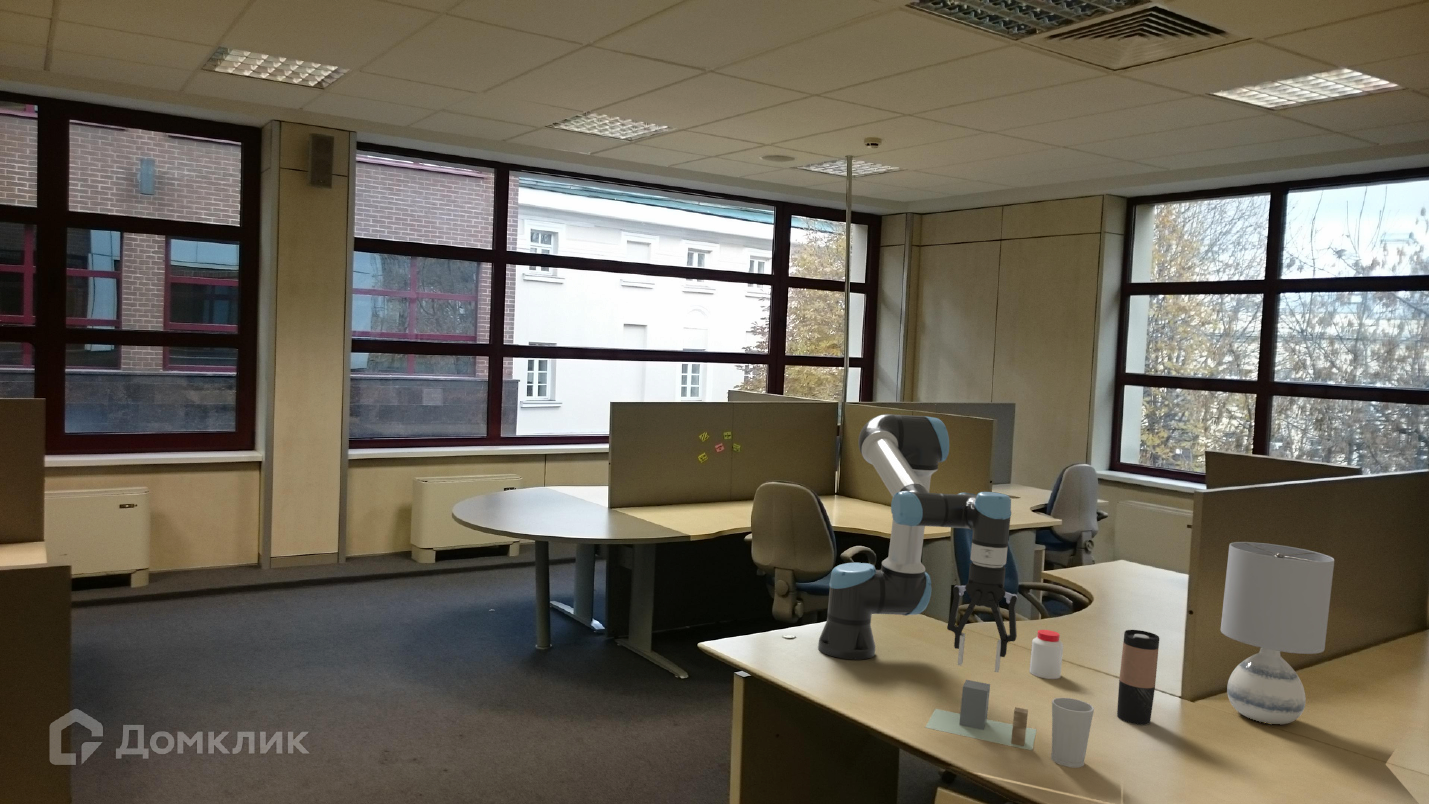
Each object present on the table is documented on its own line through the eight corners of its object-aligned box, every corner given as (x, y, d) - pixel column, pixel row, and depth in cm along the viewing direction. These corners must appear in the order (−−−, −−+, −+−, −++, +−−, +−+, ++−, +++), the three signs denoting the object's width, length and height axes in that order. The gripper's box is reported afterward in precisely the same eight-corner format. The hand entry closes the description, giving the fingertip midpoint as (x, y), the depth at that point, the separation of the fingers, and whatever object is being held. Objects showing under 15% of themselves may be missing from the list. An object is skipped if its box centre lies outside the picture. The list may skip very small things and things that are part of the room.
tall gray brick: (959, 724, 213) (962, 686, 213) (962, 717, 218) (966, 679, 218) (983, 730, 211) (987, 691, 211) (986, 722, 216) (990, 684, 216)
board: (925, 729, 210) (925, 727, 210) (935, 710, 223) (935, 708, 222) (1031, 752, 202) (1032, 750, 202) (1036, 731, 214) (1036, 729, 214)
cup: (1040, 753, 202) (1045, 696, 201) (1077, 755, 203) (1082, 698, 202) (1056, 770, 194) (1062, 711, 193) (1095, 771, 195) (1101, 712, 194)
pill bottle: (1056, 670, 259) (1060, 630, 259) (1063, 680, 252) (1067, 638, 251) (1026, 667, 260) (1030, 627, 259) (1033, 677, 252) (1036, 635, 252)
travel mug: (1149, 716, 229) (1158, 632, 228) (1152, 728, 222) (1161, 641, 221) (1114, 710, 232) (1122, 627, 230) (1116, 721, 224) (1125, 635, 223)
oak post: (1011, 743, 205) (1014, 711, 205) (1012, 739, 207) (1015, 707, 207) (1023, 746, 204) (1027, 713, 204) (1025, 742, 206) (1028, 709, 206)
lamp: (1325, 721, 235) (1343, 555, 233) (1303, 743, 219) (1322, 565, 217) (1227, 695, 250) (1243, 538, 247) (1200, 714, 234) (1217, 547, 232)
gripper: (938, 559, 213) (929, 662, 215) (1034, 574, 206) (1024, 681, 207) (944, 554, 220) (935, 654, 222) (1037, 567, 213) (1027, 671, 214)
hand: (978, 666), depth 214 cm, fingers open, 7 cm apart
